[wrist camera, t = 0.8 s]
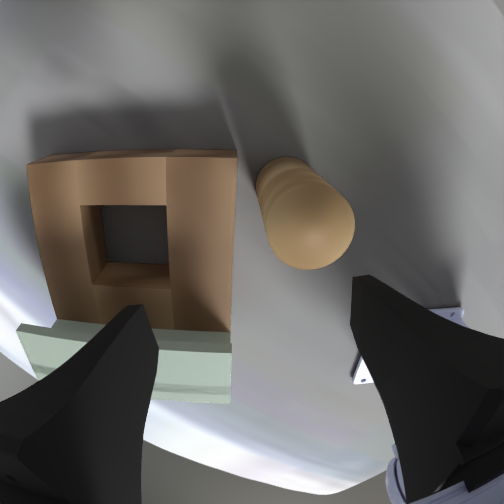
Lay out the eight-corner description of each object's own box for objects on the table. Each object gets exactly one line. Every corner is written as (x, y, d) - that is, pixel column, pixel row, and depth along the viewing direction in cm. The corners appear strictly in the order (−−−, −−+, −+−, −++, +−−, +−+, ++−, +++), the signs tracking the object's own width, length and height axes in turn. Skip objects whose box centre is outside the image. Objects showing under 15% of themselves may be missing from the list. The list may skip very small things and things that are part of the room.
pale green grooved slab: (231, 274, 21) (231, 353, 15) (229, 321, 23) (229, 403, 16) (66, 266, 20) (16, 330, 14) (77, 311, 22) (38, 379, 15)
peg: (318, 159, 18) (361, 189, 12) (311, 216, 20) (346, 270, 14) (257, 154, 18) (271, 182, 12) (253, 213, 20) (263, 268, 13)
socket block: (237, 150, 18) (237, 158, 15) (229, 321, 23) (229, 349, 20) (51, 155, 17) (26, 164, 14) (77, 311, 22) (62, 335, 19)
